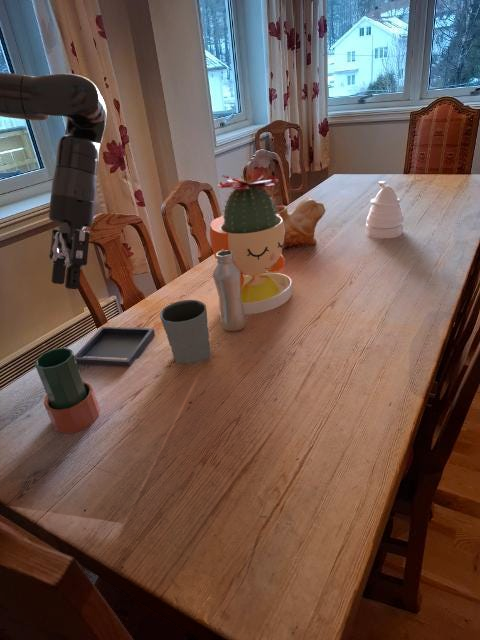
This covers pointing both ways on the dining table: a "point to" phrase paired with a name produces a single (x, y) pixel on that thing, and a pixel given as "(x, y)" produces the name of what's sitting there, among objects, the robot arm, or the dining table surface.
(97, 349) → the tray
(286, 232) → the tan lumpy piece
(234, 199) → the potted cactus
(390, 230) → the honey pot
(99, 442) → the dining table surface
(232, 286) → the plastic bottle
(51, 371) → the tall cup
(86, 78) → the robot arm
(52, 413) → the short cup
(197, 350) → the grey cup
